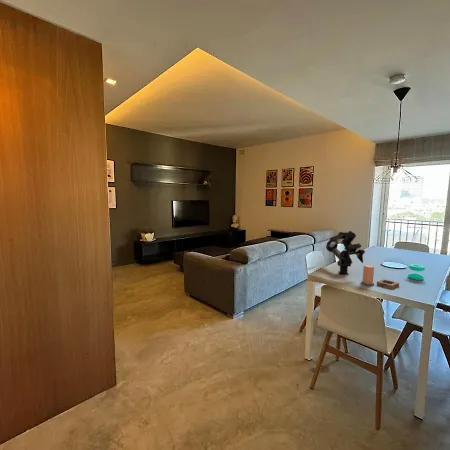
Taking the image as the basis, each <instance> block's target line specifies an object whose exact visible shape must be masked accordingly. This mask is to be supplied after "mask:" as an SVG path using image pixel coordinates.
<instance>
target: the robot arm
mask: <svg viewBox="0 0 450 450" xmlns="http://www.w3.org/2000/svg"><path fill="white" fill-rule="evenodd" d="M356 237H357V235H356V234H355V232H353V231H352V230H349V231H339V232H338V233H337V234H336V235H334V236H332V237H330V239H329V240H328V241H327V243H326V245H325V249H326V251H327V252H329V253H332V254H333V255H334V256H335V257H336V258H337V259H338V261H337V262H336V263H337V266H338V267H339V271H338V273H339V275H348V276H349V275H350V274H349V273H348V270H349V267H351V266H352V264H353V261H352V258H351V256H350V255H355V256H356V258H357V259H358V260H359V261H360V263H362V264H363V263H364V257H363V256H364V254H365V253H366V251H365V249H363V248H362V249H361V247H362V244H361V243H359V242H358V243H354V244H353V243H352V242H353V241H354V240H355V239H356ZM338 241H341V242H340V244H341V245H343V248H344V250H342V251H340V250H339V249H338V246H339V244H338ZM332 243H333V244H332Z"/></svg>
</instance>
